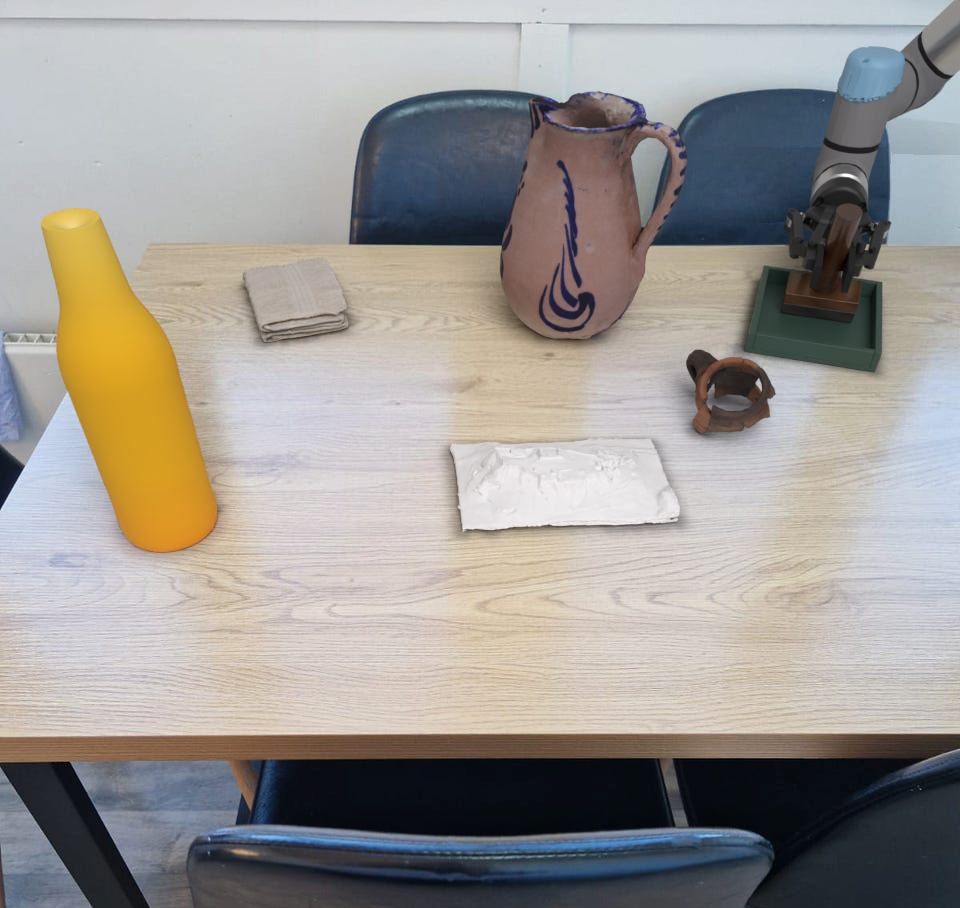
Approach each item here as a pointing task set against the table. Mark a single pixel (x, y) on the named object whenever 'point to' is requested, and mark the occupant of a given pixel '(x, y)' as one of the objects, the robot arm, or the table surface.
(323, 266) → the washcloth
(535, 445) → the terrain model
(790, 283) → the brush
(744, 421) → the broken clay pot
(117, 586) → the table surface
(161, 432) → the beer bottle
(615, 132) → the ceramic pitcher
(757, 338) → the tray
